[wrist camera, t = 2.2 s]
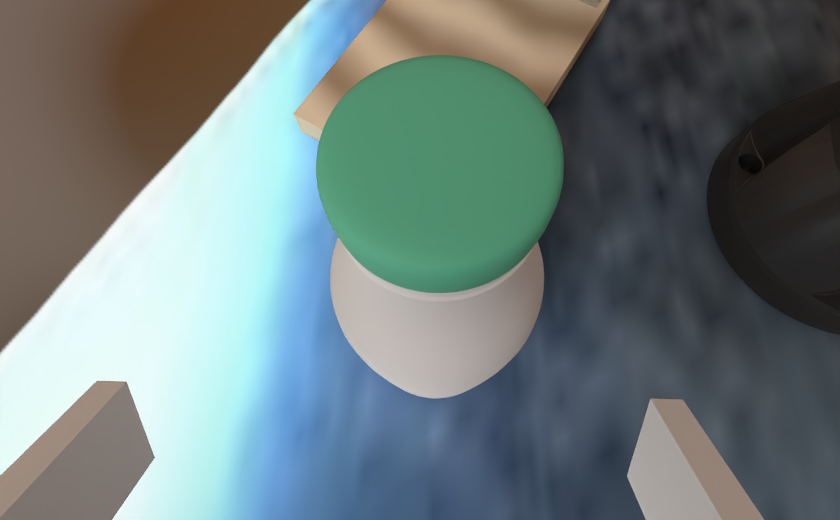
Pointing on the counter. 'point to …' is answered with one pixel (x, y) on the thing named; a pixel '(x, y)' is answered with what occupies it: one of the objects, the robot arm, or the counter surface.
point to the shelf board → (462, 44)
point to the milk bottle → (438, 218)
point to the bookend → (591, 2)
